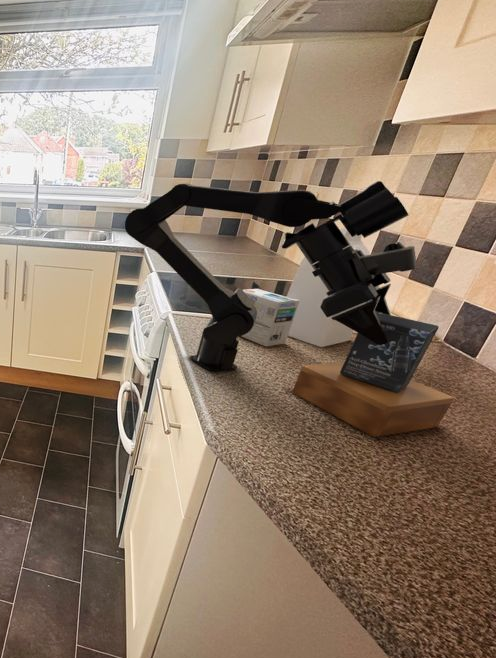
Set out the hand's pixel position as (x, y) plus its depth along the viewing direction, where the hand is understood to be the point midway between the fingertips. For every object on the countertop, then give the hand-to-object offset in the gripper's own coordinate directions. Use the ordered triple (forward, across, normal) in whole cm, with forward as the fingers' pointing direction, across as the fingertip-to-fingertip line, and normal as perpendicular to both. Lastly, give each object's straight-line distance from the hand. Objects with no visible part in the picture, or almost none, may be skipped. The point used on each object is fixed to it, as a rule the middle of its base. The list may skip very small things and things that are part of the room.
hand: (387, 337), depth 67 cm
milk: (0, +36, +19) cm, 41 cm away
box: (+6, 0, +5) cm, 8 cm away
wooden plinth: (+10, 0, +9) cm, 13 cm away
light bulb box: (-6, +22, +25) cm, 34 cm away
